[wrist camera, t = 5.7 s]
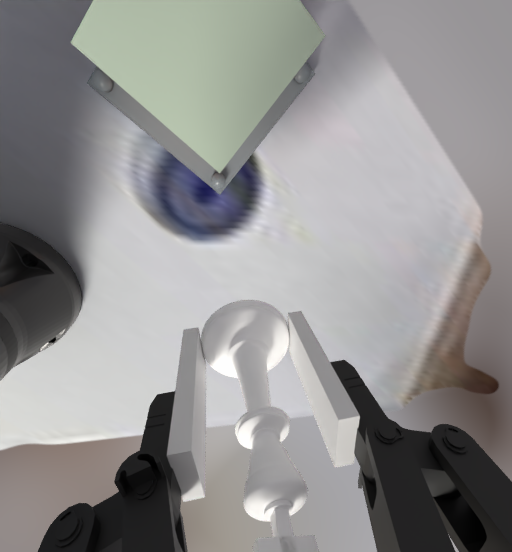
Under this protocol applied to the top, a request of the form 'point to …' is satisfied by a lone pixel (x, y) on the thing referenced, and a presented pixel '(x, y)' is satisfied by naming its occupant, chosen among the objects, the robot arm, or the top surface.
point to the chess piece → (260, 416)
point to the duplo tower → (201, 72)
